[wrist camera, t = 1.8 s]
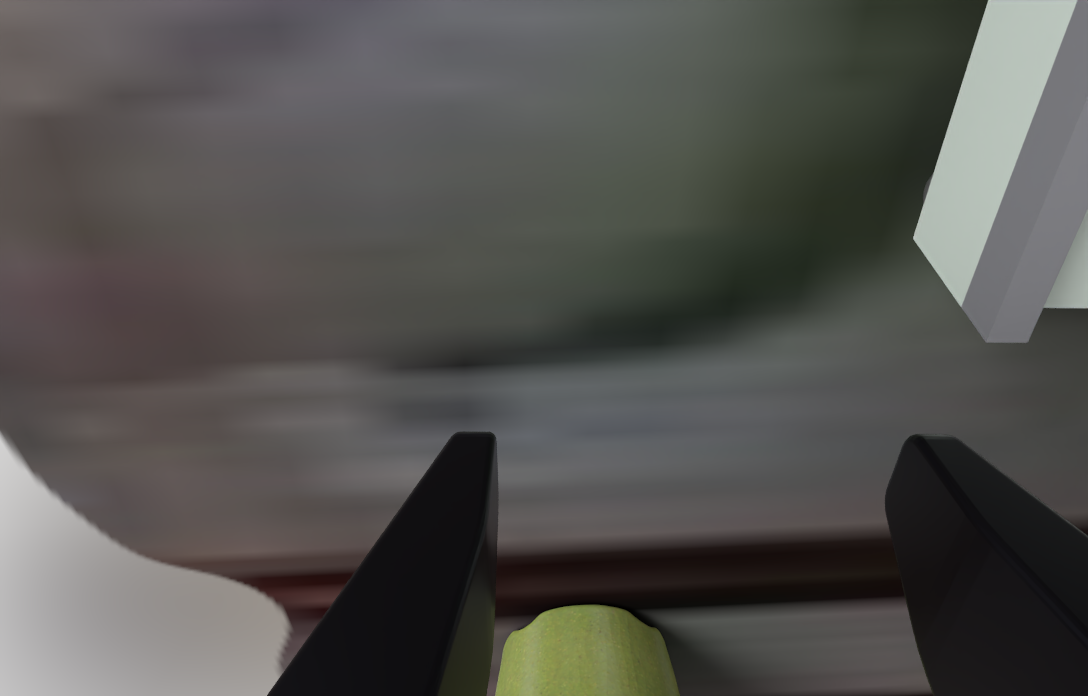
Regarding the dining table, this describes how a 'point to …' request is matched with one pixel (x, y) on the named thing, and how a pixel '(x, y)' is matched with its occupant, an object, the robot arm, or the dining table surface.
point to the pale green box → (1015, 171)
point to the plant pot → (586, 656)
